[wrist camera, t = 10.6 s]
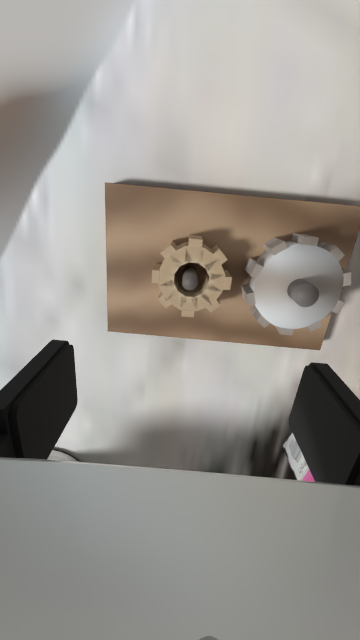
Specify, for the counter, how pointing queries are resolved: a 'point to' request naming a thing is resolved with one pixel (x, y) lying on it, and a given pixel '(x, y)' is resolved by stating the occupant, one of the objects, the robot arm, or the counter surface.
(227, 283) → the wooden gear
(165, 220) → the gear board
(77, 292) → the counter surface
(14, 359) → the counter surface
